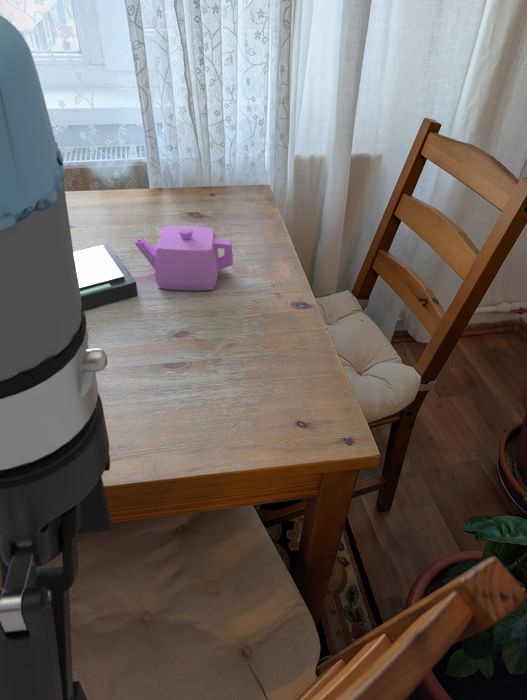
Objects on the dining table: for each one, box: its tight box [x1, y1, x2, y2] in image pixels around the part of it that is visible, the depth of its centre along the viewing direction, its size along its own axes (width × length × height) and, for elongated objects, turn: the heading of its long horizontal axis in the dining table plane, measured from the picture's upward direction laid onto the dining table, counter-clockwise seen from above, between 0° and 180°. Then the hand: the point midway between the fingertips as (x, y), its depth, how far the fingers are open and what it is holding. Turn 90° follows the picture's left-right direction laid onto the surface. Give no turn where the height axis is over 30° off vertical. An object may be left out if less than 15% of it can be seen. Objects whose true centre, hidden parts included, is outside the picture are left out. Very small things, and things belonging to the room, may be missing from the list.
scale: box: [73, 243, 139, 312], centre depth 97 cm, size 15×15×4 cm
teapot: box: [134, 225, 234, 292], centre depth 98 cm, size 18×10×10 cm, turn 91°
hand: (84, 614), depth 37 cm, fingers open, 13 cm apart
